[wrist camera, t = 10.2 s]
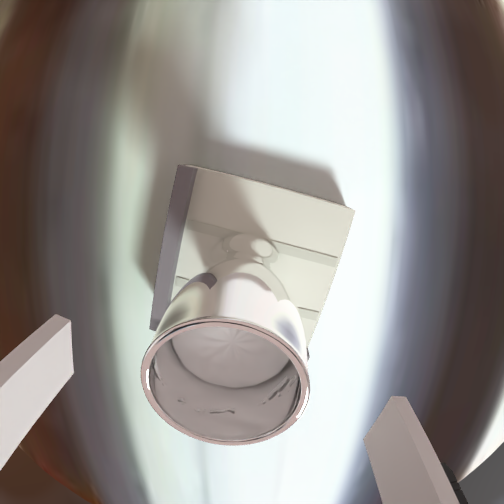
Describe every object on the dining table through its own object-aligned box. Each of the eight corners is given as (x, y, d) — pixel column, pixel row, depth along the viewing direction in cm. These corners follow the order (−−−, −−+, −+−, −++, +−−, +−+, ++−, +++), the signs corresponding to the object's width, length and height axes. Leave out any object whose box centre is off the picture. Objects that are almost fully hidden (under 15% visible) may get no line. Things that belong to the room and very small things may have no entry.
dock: (163, 307, 30) (149, 329, 26) (191, 165, 26) (178, 164, 22) (300, 341, 30) (305, 367, 26) (345, 206, 27) (360, 213, 22)
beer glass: (302, 247, 25) (349, 352, 10) (267, 320, 26) (269, 462, 12) (220, 213, 24) (158, 281, 10) (191, 290, 26) (124, 414, 12)
